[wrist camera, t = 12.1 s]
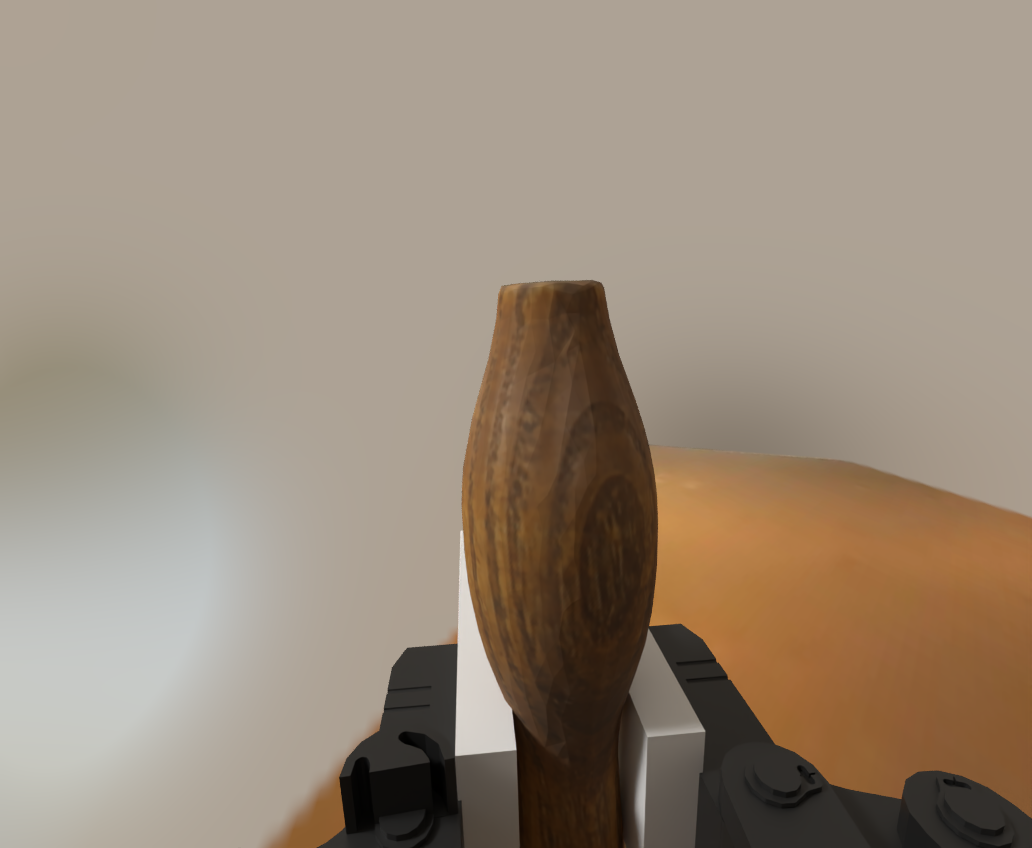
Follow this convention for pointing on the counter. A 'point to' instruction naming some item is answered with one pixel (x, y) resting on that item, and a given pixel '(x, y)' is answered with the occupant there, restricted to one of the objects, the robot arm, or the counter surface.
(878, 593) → the counter surface
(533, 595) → the hand bell
